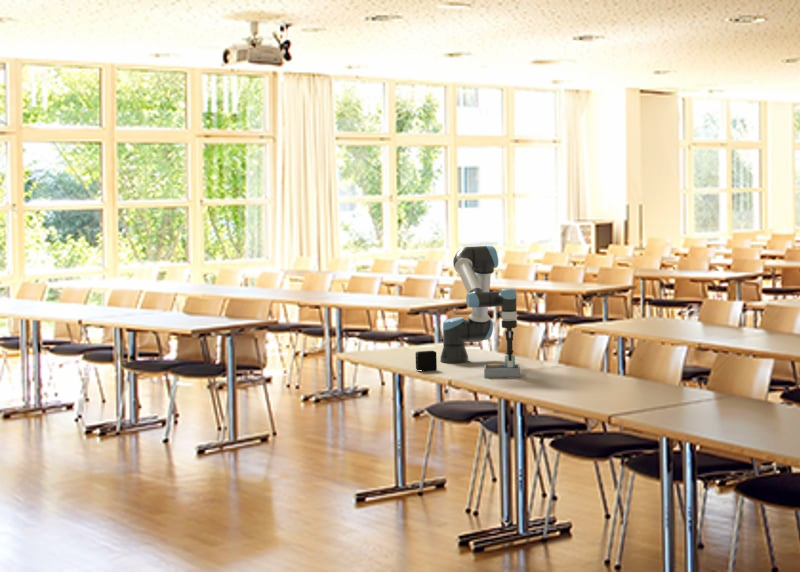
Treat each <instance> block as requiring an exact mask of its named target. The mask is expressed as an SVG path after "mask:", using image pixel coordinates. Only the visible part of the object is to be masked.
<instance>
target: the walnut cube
mask: <svg viewBox="0 0 800 572" xmlns="http://www.w3.org/2000/svg"><path fill="white" fill-rule="evenodd" d="M488 365H489V369H498V368H499V365H500V364H499V363H488Z"/></svg>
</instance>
